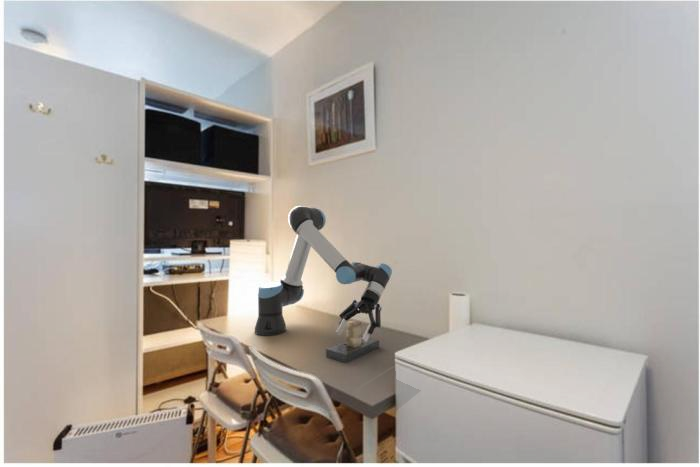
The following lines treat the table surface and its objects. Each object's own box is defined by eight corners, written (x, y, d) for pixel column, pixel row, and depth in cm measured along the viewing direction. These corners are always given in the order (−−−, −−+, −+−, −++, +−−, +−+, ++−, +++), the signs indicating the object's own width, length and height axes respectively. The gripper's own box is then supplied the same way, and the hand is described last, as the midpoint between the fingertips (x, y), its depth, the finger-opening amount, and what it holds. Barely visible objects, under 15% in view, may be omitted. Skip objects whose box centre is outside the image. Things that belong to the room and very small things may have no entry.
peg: (346, 351, 128) (346, 322, 128) (352, 348, 132) (352, 320, 132) (354, 354, 125) (354, 324, 126) (361, 351, 129) (361, 321, 129)
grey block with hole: (326, 356, 123) (326, 348, 123) (360, 342, 140) (360, 335, 140) (345, 363, 117) (345, 354, 117) (379, 347, 134) (379, 339, 134)
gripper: (400, 303, 133) (380, 348, 121) (354, 296, 149) (332, 335, 137) (393, 292, 129) (372, 338, 117) (346, 286, 145) (323, 326, 133)
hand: (350, 337), depth 127 cm, fingers open, 13 cm apart
